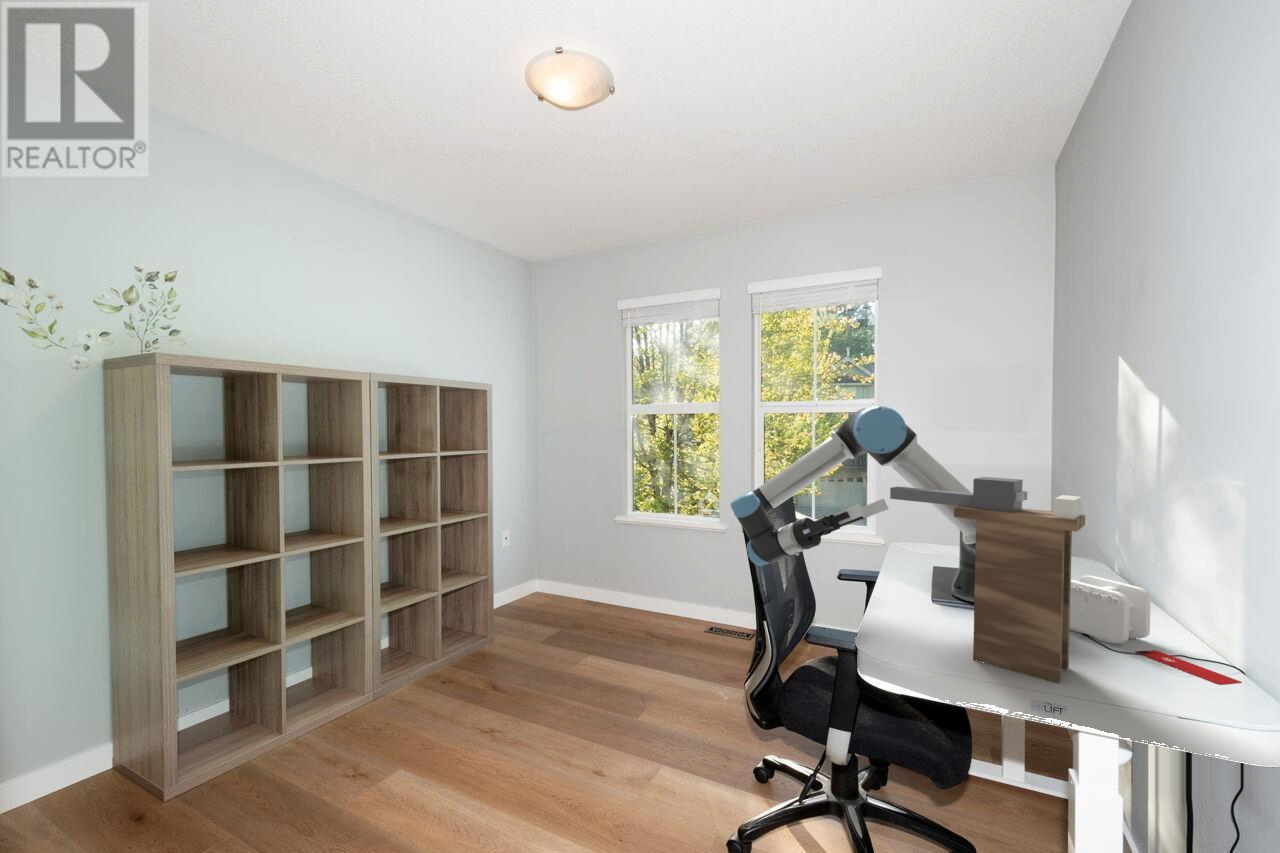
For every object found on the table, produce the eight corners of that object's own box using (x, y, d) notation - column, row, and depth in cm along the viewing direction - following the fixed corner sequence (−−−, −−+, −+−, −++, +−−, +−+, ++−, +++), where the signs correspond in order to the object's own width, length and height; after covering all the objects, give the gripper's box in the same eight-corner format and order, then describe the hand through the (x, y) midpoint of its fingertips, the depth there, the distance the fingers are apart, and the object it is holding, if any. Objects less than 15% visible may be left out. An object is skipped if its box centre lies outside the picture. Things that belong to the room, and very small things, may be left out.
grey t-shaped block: (899, 496, 132) (900, 470, 132) (1028, 510, 114) (1029, 480, 114) (887, 499, 127) (888, 472, 127) (1020, 513, 109) (1021, 482, 109)
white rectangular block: (1060, 512, 111) (1061, 494, 111) (1081, 514, 109) (1081, 496, 109) (1053, 517, 105) (1053, 498, 105) (1074, 519, 103) (1074, 500, 103)
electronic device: (1243, 684, 105) (1155, 652, 120) (1243, 681, 105) (1155, 649, 120) (1218, 686, 104) (1133, 653, 119) (1218, 683, 104) (1133, 651, 119)
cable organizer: (1155, 644, 124) (1156, 591, 123) (1121, 649, 120) (1122, 594, 120) (1082, 621, 138) (1083, 573, 138) (1050, 625, 135) (1051, 576, 135)
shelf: (965, 641, 123) (968, 502, 123) (1081, 670, 109) (1085, 514, 109) (951, 653, 116) (954, 507, 116) (1073, 687, 102) (1076, 520, 102)
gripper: (828, 543, 154) (901, 516, 141) (780, 557, 136) (858, 527, 123) (817, 517, 157) (887, 488, 144) (768, 527, 139) (844, 495, 126)
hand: (874, 506), depth 133 cm, fingers open, 13 cm apart
